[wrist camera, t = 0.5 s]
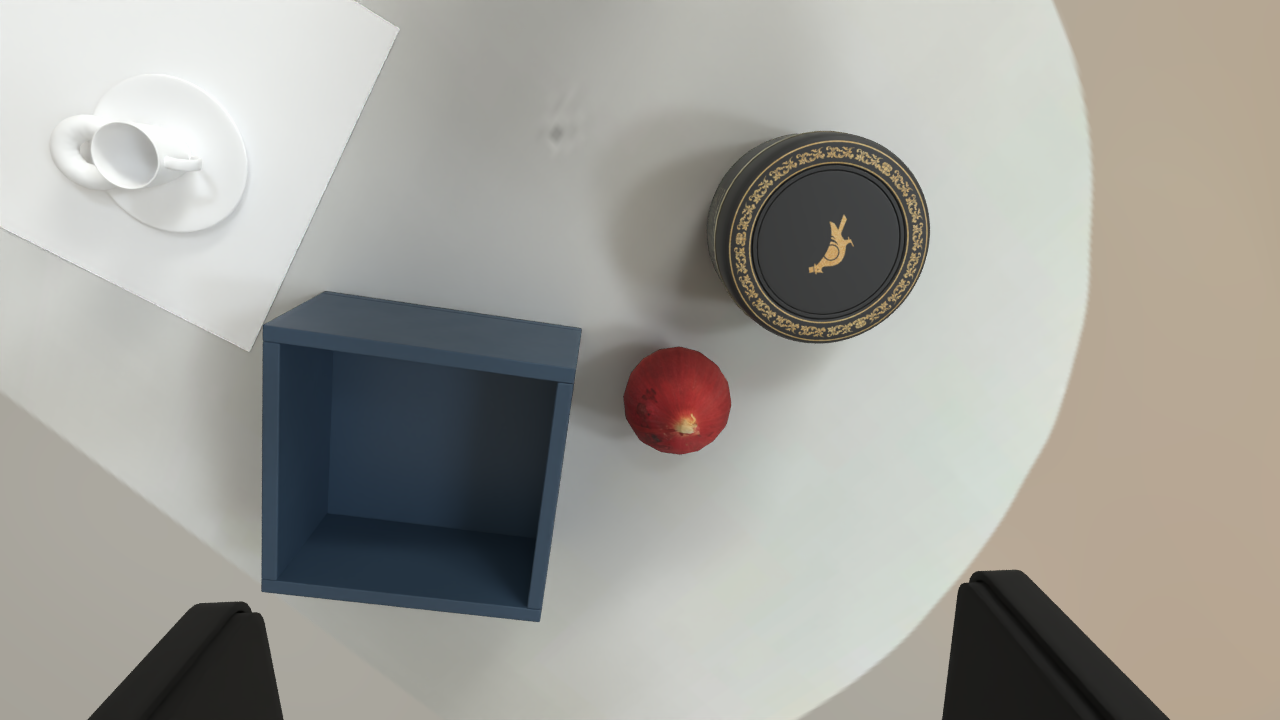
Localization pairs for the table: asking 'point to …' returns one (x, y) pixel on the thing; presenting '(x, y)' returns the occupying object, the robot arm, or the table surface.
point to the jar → (818, 235)
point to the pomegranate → (677, 400)
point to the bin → (412, 454)
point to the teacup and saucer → (180, 139)
